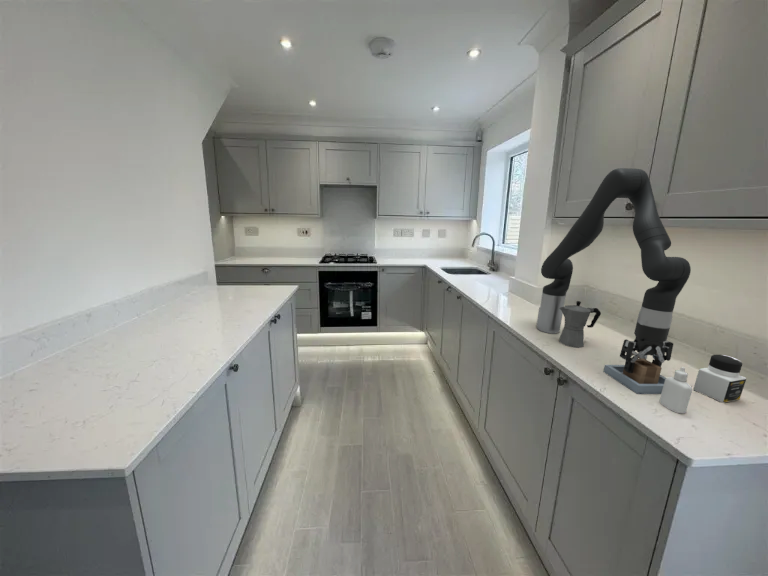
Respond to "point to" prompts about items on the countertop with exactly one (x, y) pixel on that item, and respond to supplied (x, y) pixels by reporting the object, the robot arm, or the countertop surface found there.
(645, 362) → the block
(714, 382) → the medicine bottle
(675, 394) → the eye dropper bottle
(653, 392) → the tray
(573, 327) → the coffeepot
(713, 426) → the countertop surface
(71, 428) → the countertop surface
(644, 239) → the robot arm
